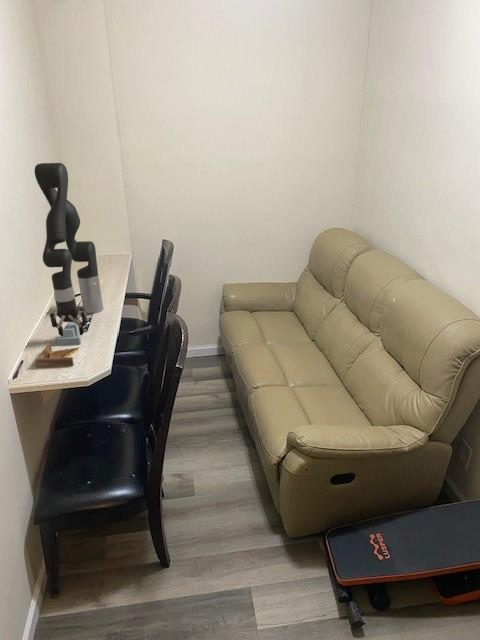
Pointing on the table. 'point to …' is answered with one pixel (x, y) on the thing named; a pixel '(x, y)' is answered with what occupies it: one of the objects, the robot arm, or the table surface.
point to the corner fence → (52, 359)
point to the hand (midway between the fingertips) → (71, 335)
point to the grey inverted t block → (70, 335)
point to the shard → (63, 353)
